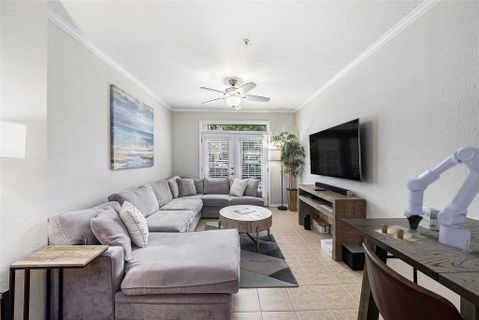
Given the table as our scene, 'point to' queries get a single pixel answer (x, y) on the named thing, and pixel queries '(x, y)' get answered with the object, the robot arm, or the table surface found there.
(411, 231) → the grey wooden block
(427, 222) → the light bulb box
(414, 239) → the board
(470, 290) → the table surface
